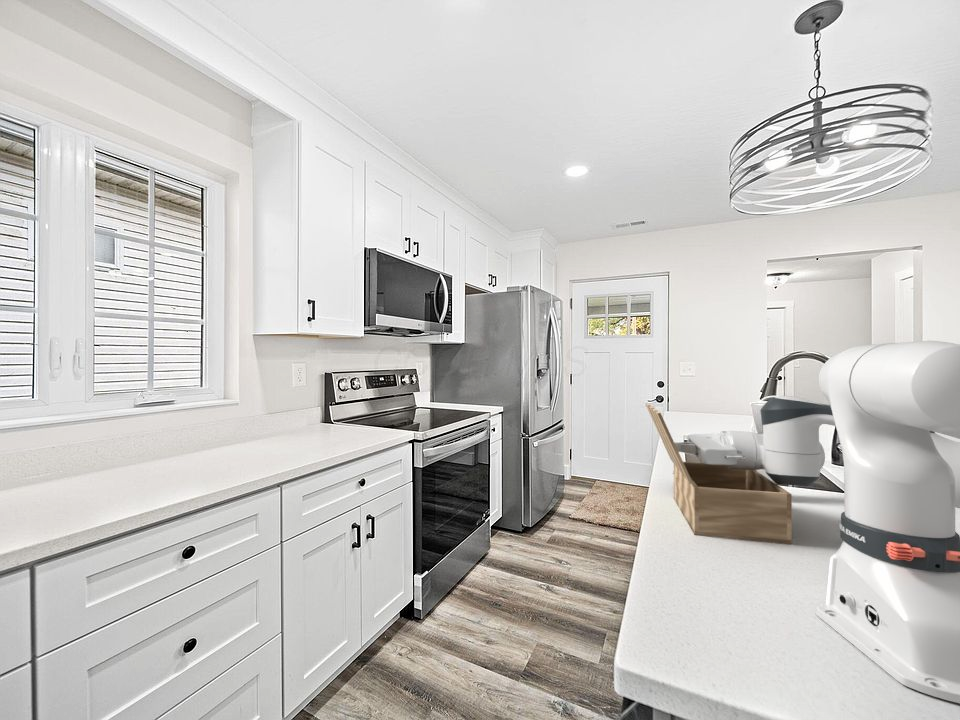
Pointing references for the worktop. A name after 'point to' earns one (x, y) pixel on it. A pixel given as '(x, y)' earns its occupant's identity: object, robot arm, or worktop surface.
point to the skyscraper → (759, 424)
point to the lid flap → (668, 441)
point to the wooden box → (733, 503)
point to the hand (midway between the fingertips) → (672, 446)
